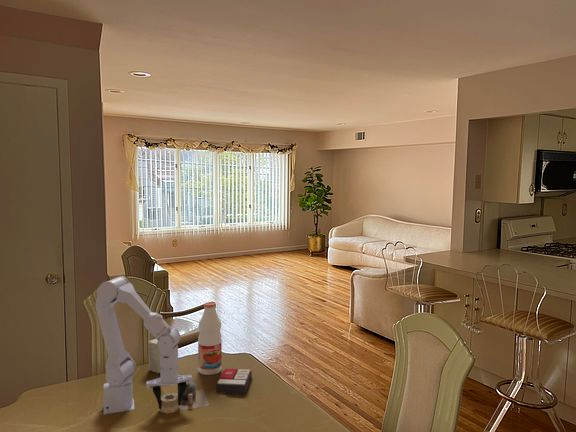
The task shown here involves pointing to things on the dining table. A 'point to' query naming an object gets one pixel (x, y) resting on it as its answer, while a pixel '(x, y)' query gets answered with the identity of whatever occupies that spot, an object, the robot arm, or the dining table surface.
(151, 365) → the skincare box
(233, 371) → the red white black box
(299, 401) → the dining table surface
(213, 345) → the fruit juice
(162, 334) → the robot arm
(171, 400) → the maple gear
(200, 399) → the gear board
